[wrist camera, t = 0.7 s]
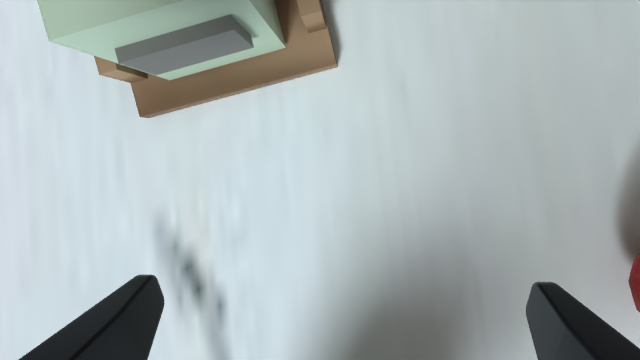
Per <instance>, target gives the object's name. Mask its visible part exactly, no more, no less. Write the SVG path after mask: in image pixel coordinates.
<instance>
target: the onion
mask: <svg viewBox="0 0 640 360" xmlns="http://www.w3.org/2000/svg"><path fill="white" fill-rule="evenodd" d="M629 285H630V288H631V292H632V296H633V299H634V302H635V305H636V308H637V310H638V311H639V312H640V254H639V255H638V257H637V258H636V259H635V261H634V262H633V265H632V269H631V273H630V277H629Z"/></svg>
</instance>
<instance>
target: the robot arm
mask: <svg viewBox="0 0 640 360" xmlns="http://www.w3.org/2000/svg"><path fill="white" fill-rule="evenodd" d="M163 308H164V296H163V293H162V291H161V288H160V285H159V283H158V280H157V278H156V277H155V276H154V275H137V276H136V277H134V278H133V279H131V280H130V281H128V282H127V283H126V284H124V285H123V286H121V287H120V288H119V289H117V290H116V291H114V292H113V293H112V294H110V295H109V296H107V297H106V298H104V299H103V300H102V301H100V302H99V303H97V304H96V305H95V306H93V307H92V308H90V309H89V310H88V311H86V312H85V313H83V314H82V315H81V316H79V317H78V318H76V319H75V320H74V321H72V322H71V323H69V324H68V325H67V326H65V327H64V328H62V329H61V330H60V331H58V332H57V333H55V334H54V335H52V336H51V337H50V338H48V339H47V340H45V341H44V342H43V343H41V344H40V345H38V346H37V347H36V348H34V349H33V350H31V351H30V352H29V353H27V354H26V355H24V356H23V357H22V358H20V359H19V360H147V359H148V356H149V353H150V350H151V346H152V343H153V340H154V337H155V334H156V330H157V327H158V324H159V321H160V318H161V314H162V311H163ZM526 316H527V320H528V324H529V328H530V332H531V335H532V339H533V343H534V346H535V350H536V354H537V358H538V360H640V349H639V348H638V347H637V346H636V345H634V344H633V343H632V342H630V341H629V340H628V339H627V338H625V337H624V336H623V335H621V334H620V333H619V332H618V331H616V330H615V329H614V328H612V327H611V326H610V325H609V324H607V323H606V322H605V321H604V320H602V319H601V318H600V317H598V316H597V315H596V314H595V313H593V312H592V311H591V310H589V309H588V308H587V307H586V306H584V305H583V304H582V303H580V302H579V301H578V300H577V299H575V298H574V297H573V296H571V295H570V294H569V293H568V292H566V291H565V290H564V289H562V288H561V287H560V286H559V285H557V284H556V283H553V282H535V283H534V284H533V286H532V289H531V292H530V295H529V299H528V302H527V306H526Z"/></svg>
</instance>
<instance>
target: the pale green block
mask: <svg viewBox="0 0 640 360" xmlns="http://www.w3.org/2000/svg"><path fill="white" fill-rule="evenodd" d="M37 1H38V4H39V8H40V11H41V15H42V18H43V22H44V25H45V29H46V32H47V36H48V39H49V41H51V42H54V43H57V44H60V45H63V46H66V47H69V48H72V49H75V50H78V51H81V52H84V53H87V54H90V55H94V56H97V57H100V58H103V59H106V60H109V61H112V62H115V63H118V64H121V65H124V66H127V67H130V68H133V69H136V70H140V71H143V72H146V73H149V74H152V75H155V76H158V77H161V78H164V79H167V80H173V79H176V78H180V77H183V76H187V75H190V74H194V73H198V72H201V71H205V70H208V69H212V68H215V67H219V66H223V65H226V64H230V63H233V62H237V61H240V60H244V59H248V58H251V57H255V56H258V55H262V54H265V53H269V52H272V51H276V50H280V49H283V48H286V46H285V42H284V38H283V34H282V30H281V26H280V22H279V18H278V13H277V9H276V5H275V1H274V0H37Z"/></svg>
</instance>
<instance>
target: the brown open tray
mask: <svg viewBox="0 0 640 360" xmlns="http://www.w3.org/2000/svg"><path fill="white" fill-rule="evenodd" d="M274 1H275V5H276V9H277V13H278V18H279V22H280V26H281V30H282V34H283V38H284V42H285V46H286V48H283V49H280V50H276V51H272V52H269V53H265V54H262V55H258V56H255V57H251V58H248V59H244V60H240V61H237V62H233V63H230V64H226V65H223V66H219V67H215V68H212V69H208V70H205V71H201V72H198V73H194V74H190V75H187V76H183V77H180V78H176V79H173V80H167V79H164V78H161V77H158V76H155V75H152V74H149V73H146V72H143V71H140V70H136V69H133V68H130V67H127V66H124V65H121V64H118V63H115V62H112V61H109V60H106V59H103V58H100V57H97V56H94V57H95V61H96V64H97V68H98V72H99V75H102V76H106V77H110V78H114V79H118V80H122V81H126V82H129V83H131V86H132V90H133V94H134V97H135V101H136V105H137V108H138V112H139V116H140V117H145V118H150V117H154V116H158V115H161V114H165V113H169V112H173V111H176V110H180V109H184V108H187V107H191V106H195V105H198V104H202V103H206V102H210V101H213V100H217V99H221V98H224V97H228V96H232V95H236V94H239V93H243V92H247V91H250V90H254V89H258V88H261V87H265V86H269V85H273V84H276V83H280V82H284V81H287V80H291V79H295V78H299V77H302V76H306V75H310V74H313V73H317V72H321V71H324V70H328V69H332V68H336V67H337V63H336V59H335V55H334V51H333V47H332V42H331V38H330V34H329V30H328V26H327V21H326V17H325V13H324V9H323V4H322V0H274Z"/></svg>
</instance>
